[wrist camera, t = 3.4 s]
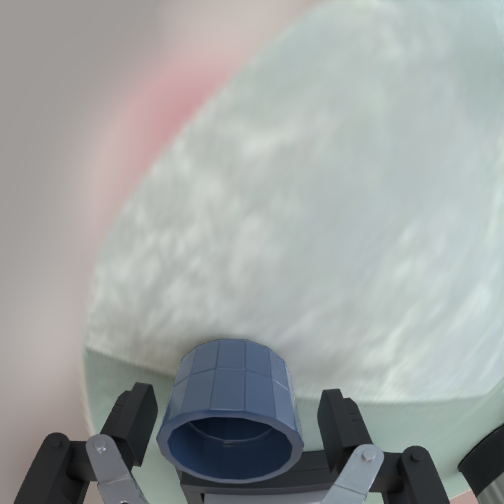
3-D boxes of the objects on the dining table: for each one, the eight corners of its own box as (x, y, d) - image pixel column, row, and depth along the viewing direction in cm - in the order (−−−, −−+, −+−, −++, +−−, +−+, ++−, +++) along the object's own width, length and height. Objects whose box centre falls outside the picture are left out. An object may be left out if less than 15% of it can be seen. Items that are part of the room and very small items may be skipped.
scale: (198, 510, 19) (196, 532, 16) (178, 449, 16) (171, 482, 13) (334, 505, 19) (338, 526, 16) (373, 442, 16) (384, 471, 13)
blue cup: (185, 410, 14) (170, 477, 10) (173, 329, 13) (143, 401, 8) (283, 413, 15) (293, 482, 10) (293, 333, 13) (314, 407, 8)
